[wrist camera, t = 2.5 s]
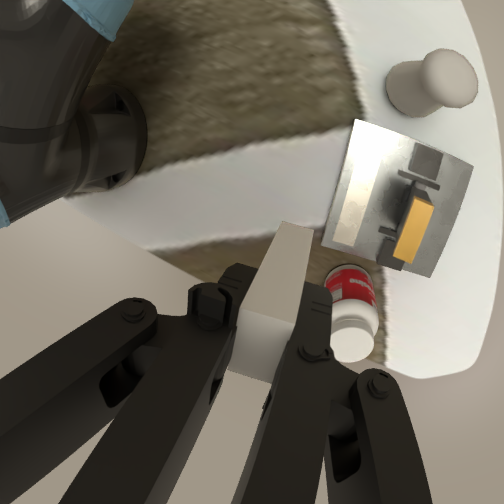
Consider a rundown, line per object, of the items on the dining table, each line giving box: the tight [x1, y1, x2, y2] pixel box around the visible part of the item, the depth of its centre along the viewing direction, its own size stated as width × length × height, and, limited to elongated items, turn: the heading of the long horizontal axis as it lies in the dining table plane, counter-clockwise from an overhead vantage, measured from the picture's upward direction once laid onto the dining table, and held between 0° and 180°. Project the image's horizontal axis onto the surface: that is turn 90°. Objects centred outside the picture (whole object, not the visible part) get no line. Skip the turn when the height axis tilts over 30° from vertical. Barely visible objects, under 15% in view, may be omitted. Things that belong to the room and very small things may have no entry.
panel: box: [321, 119, 474, 278], centre depth 27 cm, size 14×14×3 cm
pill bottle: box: [324, 265, 379, 362], centre depth 30 cm, size 6×6×11 cm
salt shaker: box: [386, 49, 478, 117], centre depth 17 cm, size 6×6×13 cm
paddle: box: [393, 181, 434, 264], centre depth 23 cm, size 2×6×8 cm, turn 169°
